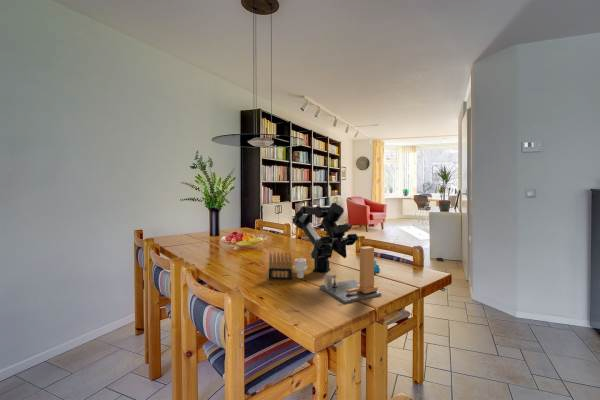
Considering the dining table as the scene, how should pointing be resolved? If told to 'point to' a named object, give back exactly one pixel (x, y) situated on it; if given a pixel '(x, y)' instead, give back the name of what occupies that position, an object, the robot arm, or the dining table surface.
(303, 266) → the pipe fitting
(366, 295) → the plate
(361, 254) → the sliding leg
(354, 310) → the dining table surface
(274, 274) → the ammunition clip
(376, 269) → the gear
